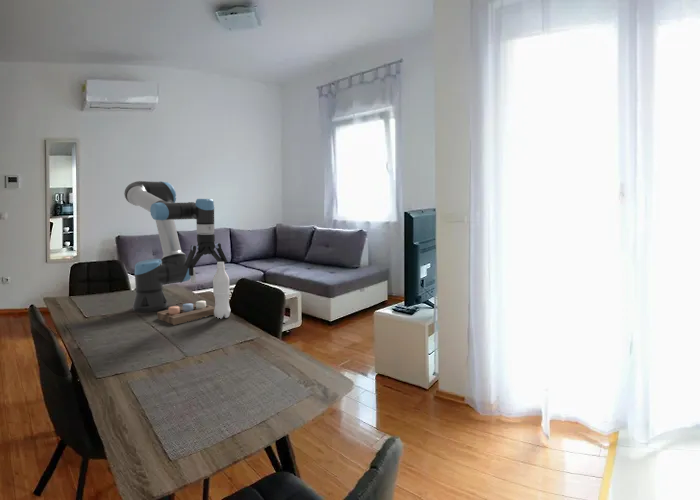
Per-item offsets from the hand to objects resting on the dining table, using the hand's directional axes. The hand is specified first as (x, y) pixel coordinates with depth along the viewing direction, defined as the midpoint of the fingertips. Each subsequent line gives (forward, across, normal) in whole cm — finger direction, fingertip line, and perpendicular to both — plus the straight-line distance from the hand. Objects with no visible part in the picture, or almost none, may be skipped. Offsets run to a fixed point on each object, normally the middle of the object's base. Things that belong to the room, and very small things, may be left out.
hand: (207, 280), depth 187 cm
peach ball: (+15, -14, +4) cm, 21 cm away
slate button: (+15, -7, +4) cm, 17 cm away
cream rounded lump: (+15, -1, +4) cm, 15 cm away
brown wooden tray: (+16, -7, +4) cm, 18 cm away
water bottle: (+16, +2, -9) cm, 18 cm away
